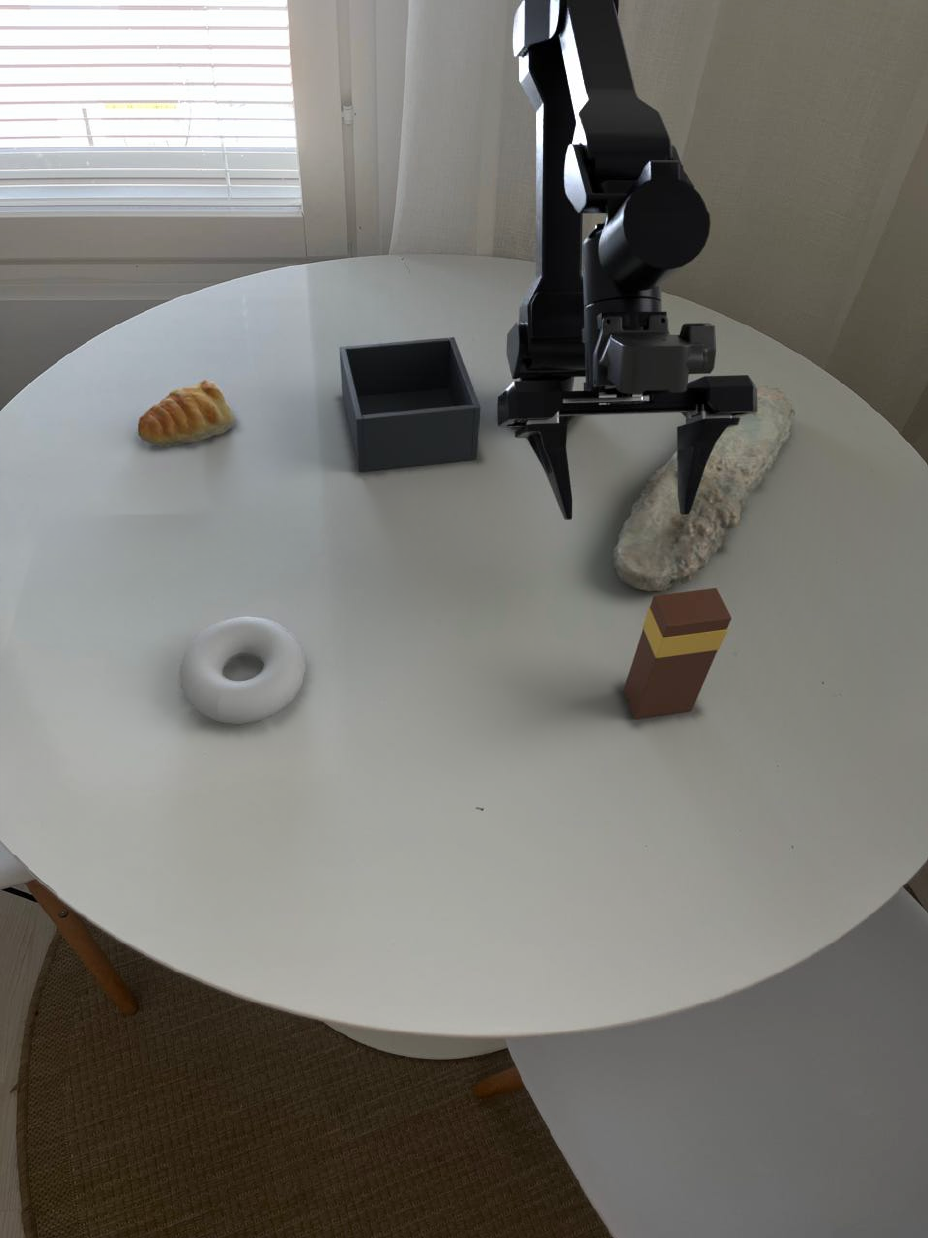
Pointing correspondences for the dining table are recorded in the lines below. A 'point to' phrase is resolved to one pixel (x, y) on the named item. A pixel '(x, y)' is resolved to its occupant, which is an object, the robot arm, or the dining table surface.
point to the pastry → (186, 416)
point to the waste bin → (409, 404)
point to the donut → (248, 696)
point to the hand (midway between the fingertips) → (627, 517)
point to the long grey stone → (701, 500)
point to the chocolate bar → (675, 652)
